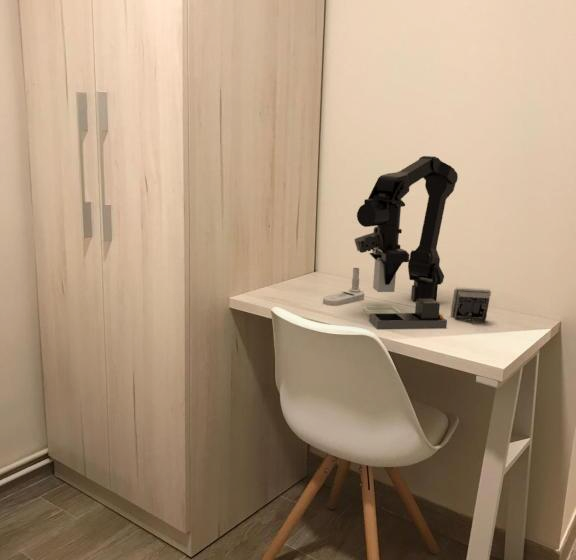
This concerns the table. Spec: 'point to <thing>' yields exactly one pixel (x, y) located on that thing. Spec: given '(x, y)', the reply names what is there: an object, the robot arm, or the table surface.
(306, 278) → the table surface
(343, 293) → the electronic device
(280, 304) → the table surface
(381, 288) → the plug
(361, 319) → the table surface
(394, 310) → the tray
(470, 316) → the electrical switch
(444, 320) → the strip
